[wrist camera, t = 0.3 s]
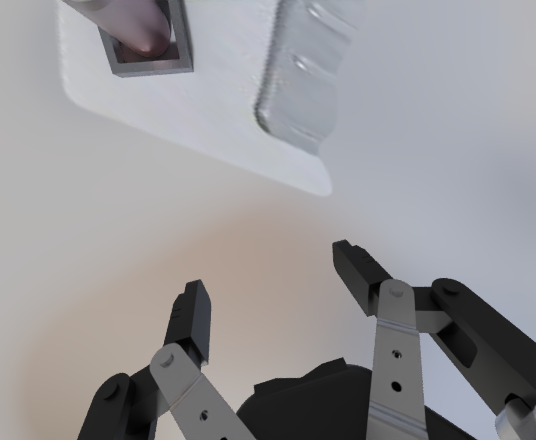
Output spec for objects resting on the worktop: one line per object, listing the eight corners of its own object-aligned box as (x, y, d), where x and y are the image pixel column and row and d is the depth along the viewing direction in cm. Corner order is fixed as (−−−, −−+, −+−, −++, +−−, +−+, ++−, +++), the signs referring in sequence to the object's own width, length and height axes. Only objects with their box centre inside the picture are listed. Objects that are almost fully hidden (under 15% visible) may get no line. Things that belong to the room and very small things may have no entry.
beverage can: (111, 15, 28) (-14, -92, 14) (152, -9, 27) (65, -145, 13) (142, 67, 30) (62, 19, 16) (180, 45, 30) (131, -22, 16)
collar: (93, -18, 26) (79, -31, 24) (175, -21, 27) (169, -35, 25) (122, 77, 30) (112, 73, 28) (193, 72, 31) (189, 67, 29)
